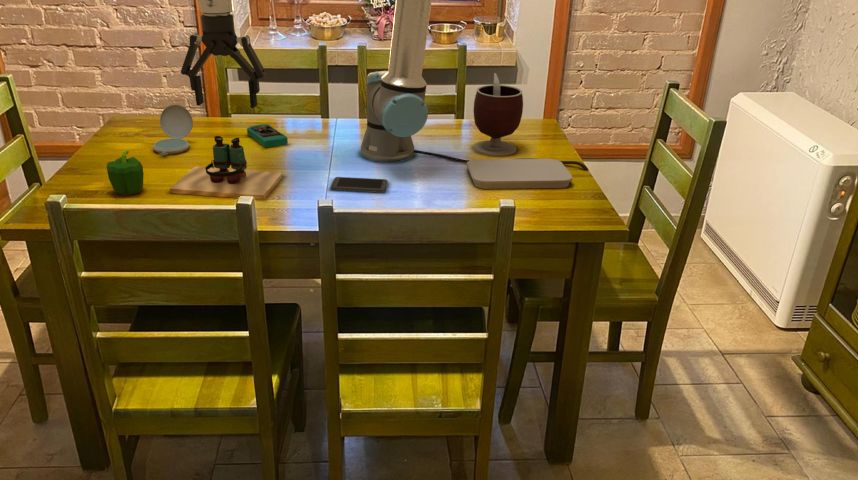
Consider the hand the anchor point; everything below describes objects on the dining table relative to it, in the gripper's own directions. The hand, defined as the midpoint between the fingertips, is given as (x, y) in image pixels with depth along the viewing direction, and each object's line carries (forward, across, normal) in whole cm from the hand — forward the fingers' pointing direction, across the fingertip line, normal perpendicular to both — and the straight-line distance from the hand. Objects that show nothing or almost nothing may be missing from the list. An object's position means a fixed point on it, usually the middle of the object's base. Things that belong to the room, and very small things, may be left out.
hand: (227, 105), depth 178 cm
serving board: (+20, -1, -2) cm, 20 cm away
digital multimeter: (+20, -2, +34) cm, 40 cm away
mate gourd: (+21, +65, +40) cm, 79 cm away
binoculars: (+19, -1, -2) cm, 19 cm away
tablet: (+21, +72, +17) cm, 77 cm away
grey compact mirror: (+20, -26, +21) cm, 39 cm away
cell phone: (+20, +32, +3) cm, 38 cm away
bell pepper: (+20, -23, -11) cm, 33 cm away
